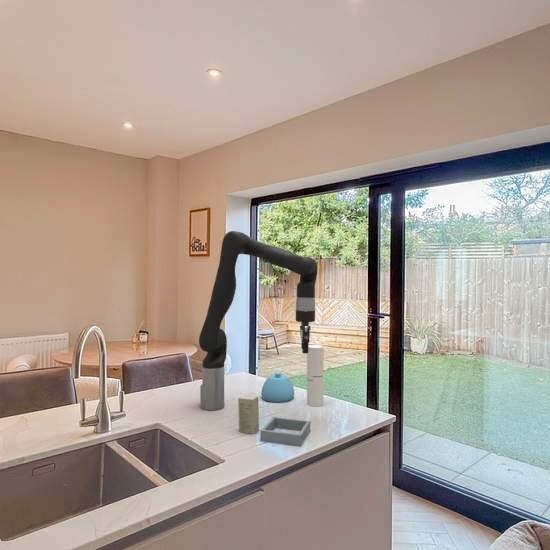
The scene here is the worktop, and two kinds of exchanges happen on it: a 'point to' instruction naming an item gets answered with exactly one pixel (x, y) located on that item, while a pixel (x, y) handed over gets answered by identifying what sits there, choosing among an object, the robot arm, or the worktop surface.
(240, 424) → the skincare box
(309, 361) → the cylindrical container
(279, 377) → the sugar bowl
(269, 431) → the box
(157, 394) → the worktop surface
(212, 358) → the robot arm
